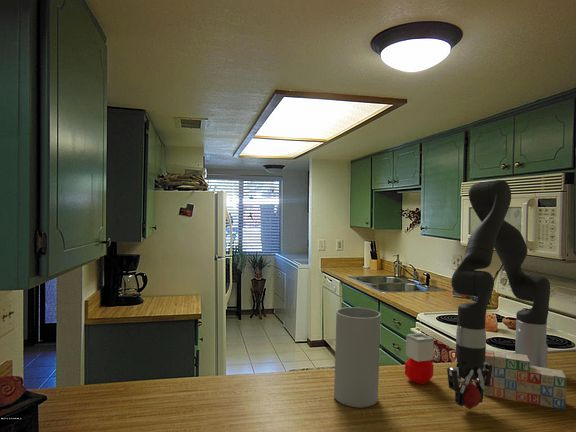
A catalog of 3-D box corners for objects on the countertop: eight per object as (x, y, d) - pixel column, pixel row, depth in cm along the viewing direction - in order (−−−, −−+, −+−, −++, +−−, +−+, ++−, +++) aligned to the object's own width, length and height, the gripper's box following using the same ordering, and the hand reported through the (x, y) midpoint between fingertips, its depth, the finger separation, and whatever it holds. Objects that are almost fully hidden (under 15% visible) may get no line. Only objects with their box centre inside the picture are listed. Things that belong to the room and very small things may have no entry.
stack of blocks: (561, 401, 122) (563, 360, 122) (565, 411, 116) (567, 367, 116) (481, 387, 131) (482, 348, 131) (481, 394, 125) (482, 354, 125)
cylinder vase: (338, 386, 128) (340, 305, 128) (379, 393, 124) (382, 309, 124) (329, 404, 116) (332, 315, 116) (375, 412, 113) (378, 320, 112)
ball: (434, 379, 135) (435, 356, 135) (428, 388, 129) (429, 363, 129) (409, 374, 140) (410, 351, 140) (402, 382, 133) (403, 358, 133)
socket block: (420, 353, 138) (421, 333, 138) (433, 359, 132) (433, 338, 132) (405, 355, 136) (406, 334, 136) (417, 361, 130) (418, 340, 130)
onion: (470, 415, 111) (471, 385, 111) (452, 406, 116) (453, 377, 116) (485, 411, 114) (485, 382, 113) (467, 402, 119) (467, 374, 118)
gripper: (480, 336, 120) (478, 393, 121) (440, 340, 115) (438, 400, 116) (501, 344, 113) (500, 405, 114) (460, 349, 108) (458, 413, 109)
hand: (469, 402), depth 115 cm, fingers closed on onion, 6 cm apart
